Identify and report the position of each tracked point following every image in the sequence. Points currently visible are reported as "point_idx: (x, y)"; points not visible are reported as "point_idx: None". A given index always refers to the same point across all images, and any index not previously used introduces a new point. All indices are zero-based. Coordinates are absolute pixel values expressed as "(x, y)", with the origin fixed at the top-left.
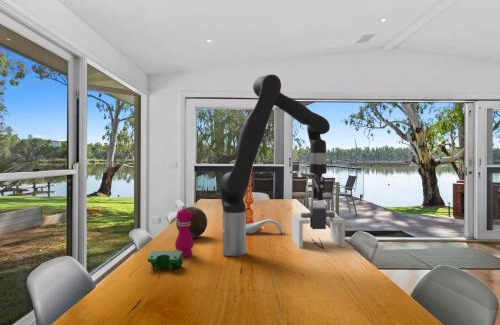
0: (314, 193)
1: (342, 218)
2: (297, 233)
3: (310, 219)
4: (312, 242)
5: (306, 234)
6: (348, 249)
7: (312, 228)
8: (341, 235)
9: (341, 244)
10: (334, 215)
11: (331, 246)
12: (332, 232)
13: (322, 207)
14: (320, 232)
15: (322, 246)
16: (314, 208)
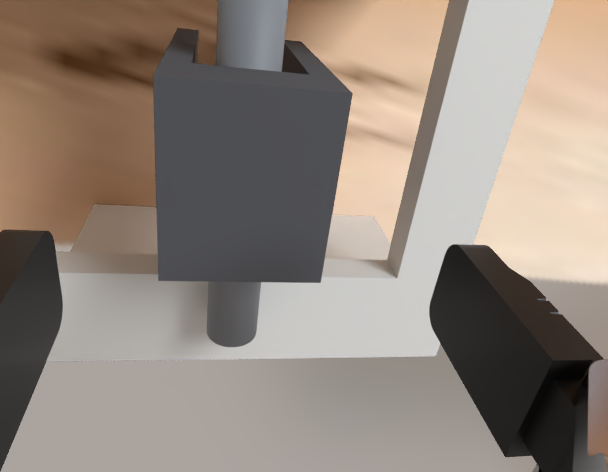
0: (492, 317)
1: (116, 358)
2: None
3: (298, 55)
4: None
5: (563, 91)
6: (31, 228)
7: (182, 29)
8: (75, 247)
9: (91, 213)
10: (207, 324)
11: (127, 146)
12: (334, 241)
13: (320, 275)
14: (576, 211)
15: (129, 77)
16: (223, 131)
